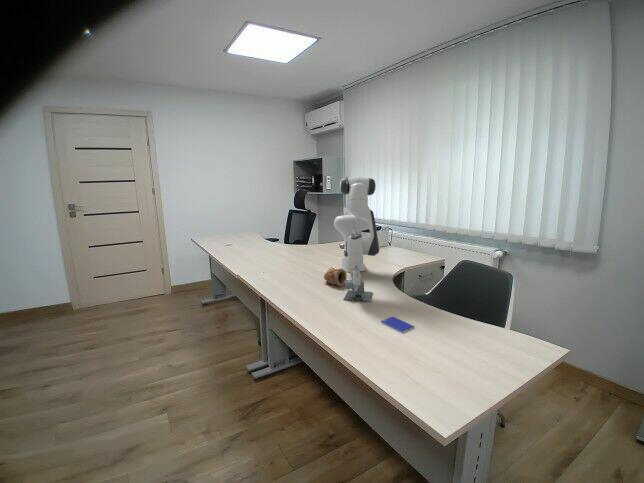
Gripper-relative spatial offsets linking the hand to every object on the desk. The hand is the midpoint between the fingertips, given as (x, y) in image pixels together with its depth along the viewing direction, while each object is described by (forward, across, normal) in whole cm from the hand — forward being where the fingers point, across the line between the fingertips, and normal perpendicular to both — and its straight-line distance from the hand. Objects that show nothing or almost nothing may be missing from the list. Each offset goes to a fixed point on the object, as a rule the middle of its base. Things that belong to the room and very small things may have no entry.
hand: (355, 288), depth 180 cm
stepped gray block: (+2, 0, 0) cm, 2 cm away
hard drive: (+6, -36, -15) cm, 39 cm away
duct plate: (+5, 0, -2) cm, 5 cm away
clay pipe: (+5, +24, +10) cm, 27 cm away
